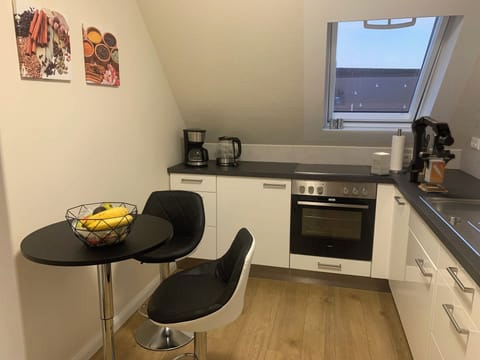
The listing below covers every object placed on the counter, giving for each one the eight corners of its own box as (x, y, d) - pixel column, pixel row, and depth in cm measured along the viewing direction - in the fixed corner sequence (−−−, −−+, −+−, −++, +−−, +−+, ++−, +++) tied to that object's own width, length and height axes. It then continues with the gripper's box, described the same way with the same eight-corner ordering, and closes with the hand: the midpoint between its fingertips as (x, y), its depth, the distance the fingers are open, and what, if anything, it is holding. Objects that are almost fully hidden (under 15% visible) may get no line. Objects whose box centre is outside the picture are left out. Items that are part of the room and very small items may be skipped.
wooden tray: (418, 186, 235) (418, 182, 235) (438, 187, 234) (439, 183, 233) (426, 192, 222) (426, 188, 221) (447, 193, 220) (448, 189, 219)
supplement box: (380, 171, 279) (382, 152, 276) (389, 174, 271) (391, 153, 268) (370, 172, 276) (372, 152, 273) (379, 175, 268) (381, 154, 265)
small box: (429, 182, 223) (432, 161, 220) (424, 180, 230) (427, 159, 227) (442, 183, 223) (445, 161, 220) (437, 180, 230) (440, 159, 227)
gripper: (426, 145, 215) (423, 171, 218) (461, 146, 212) (457, 173, 216) (420, 142, 225) (417, 168, 229) (453, 143, 223) (449, 169, 227)
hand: (435, 169), depth 225 cm, fingers closed on small box, 8 cm apart
